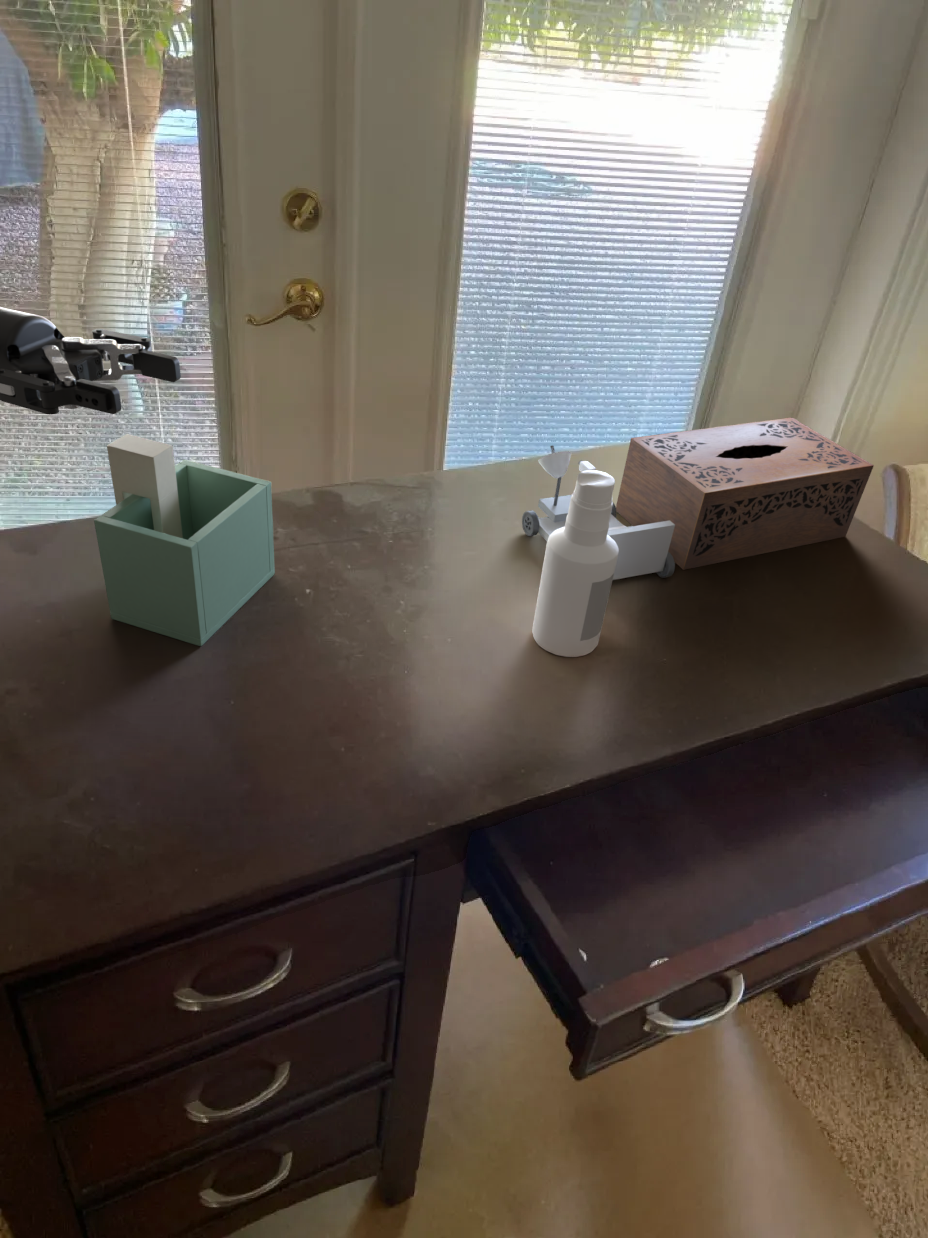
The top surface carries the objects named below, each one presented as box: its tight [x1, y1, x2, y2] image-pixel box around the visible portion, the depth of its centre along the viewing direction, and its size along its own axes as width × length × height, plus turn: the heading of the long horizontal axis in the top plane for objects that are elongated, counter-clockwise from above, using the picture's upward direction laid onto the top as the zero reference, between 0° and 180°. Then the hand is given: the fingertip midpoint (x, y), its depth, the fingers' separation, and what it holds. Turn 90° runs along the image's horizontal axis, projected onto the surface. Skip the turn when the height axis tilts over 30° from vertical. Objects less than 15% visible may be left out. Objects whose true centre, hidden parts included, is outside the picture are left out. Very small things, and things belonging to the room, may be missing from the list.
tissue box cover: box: [615, 416, 875, 571], centre depth 110 cm, size 26×14×10 cm, turn 115°
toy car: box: [521, 444, 676, 581], centre depth 102 cm, size 18×10×12 cm
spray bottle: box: [531, 470, 619, 658], centre depth 85 cm, size 7×7×18 cm
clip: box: [106, 433, 183, 538], centre depth 85 cm, size 5×3×11 cm, turn 71°
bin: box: [93, 458, 276, 647], centre depth 87 cm, size 14×10×11 cm
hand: (149, 385), depth 77 cm, fingers open, 8 cm apart
